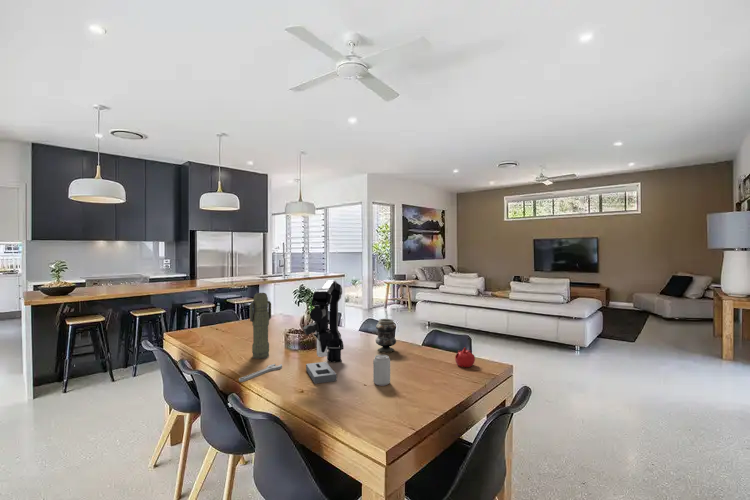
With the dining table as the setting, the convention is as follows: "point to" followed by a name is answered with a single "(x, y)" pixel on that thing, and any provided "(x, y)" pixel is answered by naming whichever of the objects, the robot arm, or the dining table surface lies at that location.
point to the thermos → (260, 325)
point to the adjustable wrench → (260, 372)
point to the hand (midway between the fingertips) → (322, 351)
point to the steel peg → (319, 351)
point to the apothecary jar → (386, 335)
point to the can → (381, 370)
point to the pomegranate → (464, 358)
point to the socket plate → (321, 372)
